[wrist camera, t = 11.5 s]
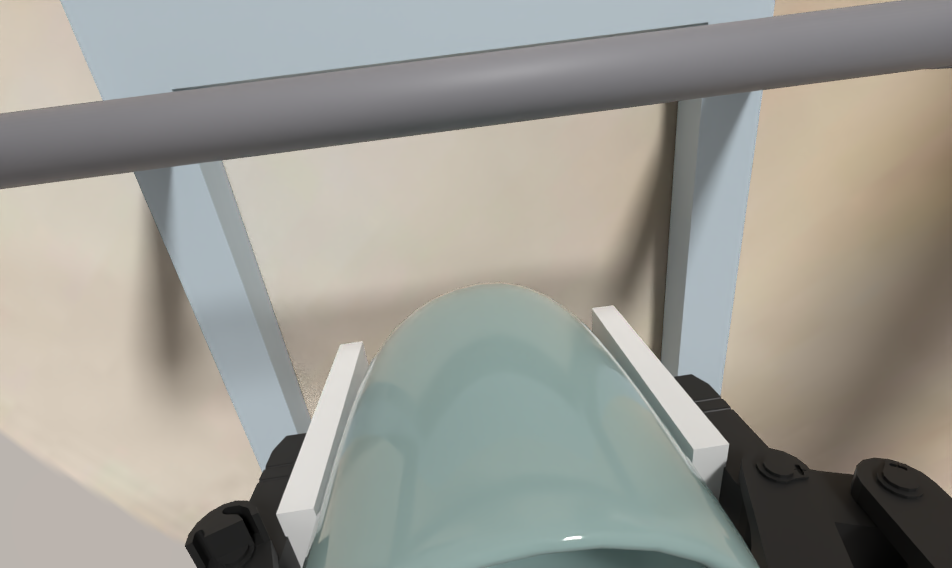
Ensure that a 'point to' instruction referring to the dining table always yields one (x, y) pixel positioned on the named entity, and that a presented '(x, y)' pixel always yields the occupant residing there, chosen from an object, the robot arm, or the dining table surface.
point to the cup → (511, 452)
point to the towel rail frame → (433, 124)
